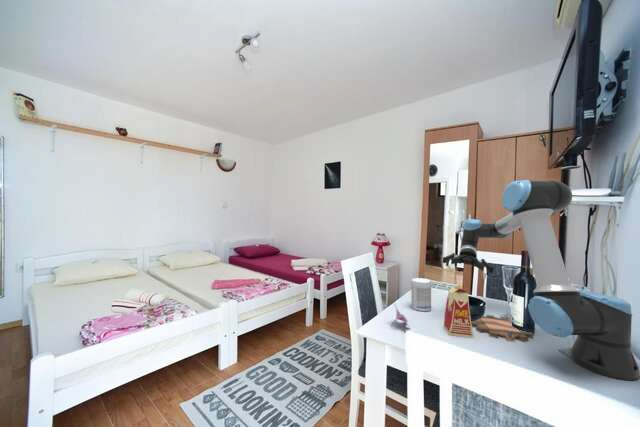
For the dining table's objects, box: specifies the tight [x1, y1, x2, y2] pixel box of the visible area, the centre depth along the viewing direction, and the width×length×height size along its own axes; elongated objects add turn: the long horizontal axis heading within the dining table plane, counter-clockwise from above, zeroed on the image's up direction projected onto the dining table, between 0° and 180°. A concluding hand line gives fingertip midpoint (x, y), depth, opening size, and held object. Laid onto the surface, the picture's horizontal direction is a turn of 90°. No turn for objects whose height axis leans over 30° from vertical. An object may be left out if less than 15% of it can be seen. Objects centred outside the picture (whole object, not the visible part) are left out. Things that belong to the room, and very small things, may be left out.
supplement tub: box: [410, 277, 432, 312], centre depth 133 cm, size 10×10×15 cm
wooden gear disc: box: [471, 314, 534, 342], centre depth 110 cm, size 22×22×3 cm
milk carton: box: [443, 284, 475, 339], centre depth 107 cm, size 9×9×20 cm
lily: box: [390, 303, 411, 329], centre depth 112 cm, size 12×12×10 cm
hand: (466, 272), depth 110 cm, fingers open, 13 cm apart
